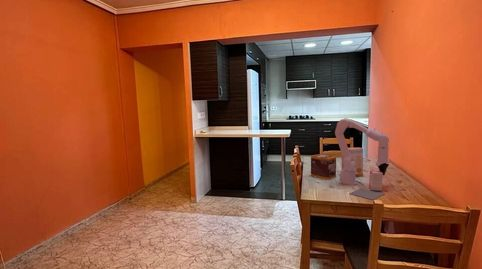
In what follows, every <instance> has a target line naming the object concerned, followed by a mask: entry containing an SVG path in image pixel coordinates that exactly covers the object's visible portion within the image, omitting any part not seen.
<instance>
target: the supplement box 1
mask: <svg viewBox="0 0 482 269" xmlns="http://www.w3.org/2000/svg"><path fill="white" fill-rule="evenodd" d="M310 176H311V177H315V178H320V179H323V180H327V181H329V180H331V179H335V178H337V156H333V155H328V154H320V153H319V154H314V155H311V156H310Z"/></svg>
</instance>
